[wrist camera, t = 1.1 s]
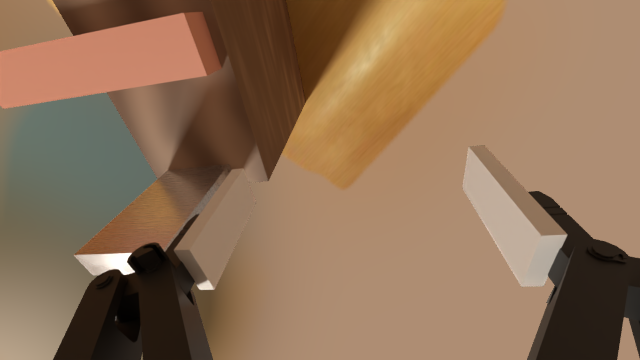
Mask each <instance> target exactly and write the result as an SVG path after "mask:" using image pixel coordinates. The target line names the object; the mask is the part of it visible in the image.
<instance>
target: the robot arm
mask: <svg viewBox="0 0 640 360" xmlns="http://www.w3.org/2000/svg"><path fill="white" fill-rule="evenodd" d="M463 190H464V191H465V193H466V195H467V196H468V198H469V200H470V201H471V203H472V205H473V206H474V208H475V210H476V211H477V213H478V215H479V216H480V218H481V220H482V221H483V223H484V225H485V227H486V228H487V230H488V232H489V233H490V235H491V237H492V238H493V240H494V242H495V243H496V245H497V247H498V248H499V250H500V252H501V253H502V255H503V256H504V258H505V260H506V261H507V263H508V265H509V267H510V268H511V270H512V272H513V273H514V275H515V277H516V278H517V280H518V282H519V283H520V285H521V286H544V284H545V282H546V280H547V278H548V276H549V278H550V279H551V280H552V282H553V283H554V285H555V286H554V288H553V290H552V292H551V294H550V296H549V298H548V300H547V303H548V304H547V307H546V309H545V312H544V315H543V318H542V320H541V323H540V326H539V329H538V331H537V334H536V337H535V339H534V342H533V345H532V347H531V351H530V353H529V356H528V358H527V360H617V357H618V350H619V343H620V337H621V331H622V324H623V318H624V317H626V318H629V321H630V325H631V328H632V332H633V336H634V339H635V343H636V346H637V350H638V353H639V357H640V258H634V257H630V256H628V255H627V254H626V253H625V252H624V251H623V250H621V249H619V248H618V247H617V246H615V245H612V244H610V243H607V242H605V241H600V240H596V239H593V238H592V237H591V236H590V235H589V234H588V233H587V232H586V231H585V230H584V229H583V228H582V227H581V226H579V224H578V223H576V221H575V220H573V218H572V217H570V216H569V215H567V213H566V212H565V211H564V210H563V209H562V208H560V206H559V205H558V204H557V203H556V202H555V201H554V200H553V199H552V198H550V197H549V196H547V195H545V194H543V193H541V192H539V191H534V192H527V191H526V190H525V188H524V187H523V186H522V185H521V184H520V183H519V182H518V181H517V180H516V179H515V178H514V177H513V176H512V174H511V173H510V172H509V171H508V170H507V169H506V168H505V167H504V166H503V165H502V164H501V163H500V162H499V161H498V160H497V158H496V157H495V156H494V155H493V154H492V153H491V152H490V151H489V150H488V149H487V148H486V147H485V145H481V146H470V147H469V148H468V155H467V162H466V168H465V174H464V181H463ZM255 204H256V201H255V198H254V195H253V193H252V190H251V187H250V185H249V182H248V179H247V177H246V174H245V171H244V169H243V168H241V169H232V170H231V172H230V173H229V174H228V176H227V177H226V179H225V180H224V181H223V183H222V184H221V185H220V187H219V188H218V190H217V191H216V192H215V194H214V195H213V197H212V198H211V199H210V201H209V202H208V203H207V205H206V206H205V208H204V209H203V210H202V212H201V213H200V214H196V215H195V216H194V217H192V218H191V219H190V220H189V221H188V222H187V223H186V224H185V226H184V227H183V230H181V231H180V232H179V234H178V235H177V236H176V238H175V239H174V240H173V242H172V243H171V244H170V246H169V247H168V248H167V250H166V251H165V252H164V250H163V249H162V247H161V246H160V245H159V243H156V242H153V243H148V244H145V245H143V246H141V247H139V248H138V249H136V250H135V251H134V252H133V253H132V254H131V255H130V256H129V257H128V260H127V263H128V264H129V265H130V267H131V268H132V269H133V270H134V271H135V272H134V273H130V274H127V275H123V273H122V272H121V271H120V270H119V269H112V270H108V271H106V272H104V273H102V274H100V275H99V276H97V277H96V278H95V279H94V280H93V281H92V282H91V283H90V284H89V286H88V287H87V289H86V291H85V293H84V295H83V298H82V300H81V302H80V304H79V306H78V308H77V310H76V312H75V314H74V317H73V319H72V321H71V323H70V325H69V327H68V329H67V331H66V333H65V336H64V338H63V340H62V342H61V344H60V346H59V348H58V350H57V353H56V355H55V357H54V359H53V360H141V356H142V352H143V360H213V358H212V354H211V352H210V348H209V344H208V341H207V338H206V334H205V330H204V327H203V324H202V320H201V317H200V314H199V310H198V307H197V303H196V300H195V296H194V294H193V292H192V290H191V288H192V286H193V284H194V282H195V283H196V285H197V286H198V288H199V289H200V290H213V289H215V287H216V285H217V283H218V281H219V279H220V277H221V275H222V273H223V271H224V269H225V266H226V264H227V262H228V260H229V258H230V256H231V254H232V252H233V250H234V248H235V245H236V244H237V242H238V240H239V237H240V235H241V233H242V231H243V229H244V227H245V225H246V223H247V221H248V219H249V217H250V215H251V212H252V210H253V208H254V206H255Z"/></svg>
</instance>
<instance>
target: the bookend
mask: <svg viewBox="0 0 640 360" xmlns="http://www.w3.org/2000/svg"><path fill="white" fill-rule="evenodd" d="M230 172H231V168H230V165H229V164H225V165H214V166H204V167H194V168H183V169H173V170H167V171H166V172H165V173H164V174H163V175H162V176H161V177H160V178H158V179H157V180H156V181H155V182H154V183H153V184H152V185H151V186H150V187H148V188H147V189H146V190H145V191H144V192H143V193H142V194H141V195H140V196H138V197H137V198H136V199H135V200H134V201H133V202H132V203H131V204H130V205H129V206H127V207H126V208H125V209H124V210H123V211H122V212H121V213H120V214H118V216H116V217H115V218H114V219H113V220H112V221H111V222H110V223H109V224H107V225H106V226H105V227H104V228H103V229H102V230H101V231H100V232H99V233H97V234H96V235H95V236H94V237H93V238H92V239H91V240H90V241H89V242H88V243H87V244H85V245H84V246H83V247H82V248H81V249H80V250H79V251H77V252H76V253H75V254H74V256H75V257H76V258H77V259H78V260H79V261H80V262H81V263H82V264H83V265H84V266H85V268H86V269H88V270H89V272H90V273H91V274H92V275H100V274H102V273H104V272H106V271H108V270H112V269H119V270H120V271H121V272H122V273H123V275H125V274H130V273H134V272H135V271H134V270H133V269H132V268H131V267H130V265H129V264H128V263H127V260H128V257H129V256H130V255H131V254H132V253H133V252H134V251H135V250H136V249H138V248H139V247H141V246H143V245H145V244H148V243H153V242H156V243H159V245H160V246H161V247H162V249H163V250H164V252H165V251H166V250H167V248H168V247H169V246H170V244H171V243H172V242H173V240H174V239H175V238H176V236H177V235H178V234H179V232H180V231H181V230H183V227H184V226H185V224H186V223H187V222H188V221H189V220H190V219H191V218H192V217H194V216H195V215H196V214H200V213H201V212H202V210H203V209H204V208H205V206H206V205H207V203H208V202H209V201H210V199H211V198H212V197H213V195H214V194H215V192H216V191H217V190H218V188H219V187H220V185H221V184H222V183H223V181H224V180H225V179H226V177H227V176H228V174H229V173H230Z"/></svg>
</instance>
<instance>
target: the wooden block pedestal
mask: <svg viewBox="0 0 640 360" xmlns="http://www.w3.org/2000/svg"><path fill="white" fill-rule="evenodd" d="M53 2H54V4H55V5H56V7H57V9H58V10H59V12H60V14H61V15H62V17H63V19H64V21H65V22H66V24H67V26H68V27H69V29H70V31H71V32H72V34H73V36H76V35H81V34H85V33H90V32H95V31H100V30H104V29H109V28H114V27H119V26H123V25H128V24H133V23H137V22H142V21H147V20H152V19H156V18H161V17H166V16H171V15H175V14H180V13H189V12H203V15H204V18H205V21H206V24H207V27H208V30H209V32H210V35H211V38H212V41H213V44H214V47H215V50H216V53H217V56H218V59H219V62H220V65H221V68H222V69H220V70H218V71H216V72H214V73H212V74H210V75H208V76H202V77H196V78H190V79H184V80H178V81H172V82H165V83H159V84H153V85H147V86H141V87H135V88H128V89H122V90H116V91H110V92H107V94H108V95H109V97H110V99H111V100H112V102H113V104H114V105H115V107H116V109H117V111H118V112H119V114H120V116H121V117H122V119H123V121H124V122H125V124H126V126H127V128H128V129H129V131H130V133H131V134H132V136H133V138H134V139H135V141H136V143H137V145H138V146H139V147H140V149H141V151H142V153H143V155H144V156H145V158H146V160H147V162H148V163H149V165H150V167H151V168H152V170H153V171H154V173H155V175H156V177H157V178H160V177H161V176H162V175H163V174H164V173H165V172H166V171H167V170H173V169H183V168H194V167H204V166H214V165H225V164H229V165H230V168H231V170H232V169H241V168H243V169H244V171H245V174H246V177H247V179H248V182H249V183H251V182H263V181H269V179H270V176H271V174H272V172H273V170H274V168H275V166H276V164H277V162H278V160H279V158H280V155H281V153H282V151H283V149H284V147H285V145H286V143H287V141H288V139H289V136H290V134H291V132H292V130H293V128H294V126H295V124H296V122H297V119H298V117H299V115H300V113H301V111H302V109H303V107H304V105H305V103H306V102H305V97H304V92H303V87H302V81H301V76H300V71H299V66H298V61H297V55H296V50H295V45H294V40H293V35H292V29H291V24H290V19H289V14H288V9H287V3H286V0H53Z"/></svg>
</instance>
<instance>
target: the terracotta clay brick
mask: <svg viewBox="0 0 640 360" xmlns="http://www.w3.org/2000/svg"><path fill="white" fill-rule="evenodd" d="M220 69H222V68H221V65H220V62H219V59H218V56H217V53H216V50H215V47H214V44H213V41H212V38H211V35H210V32H209V30H208V27H207V24H206V21H205V18H204V15H203V12H189V13H180V14H175V15H171V16H166V17H161V18H156V19H152V20H147V21H142V22H137V23H133V24H128V25H123V26H119V27H114V28H109V29H104V30H100V31H95V32H90V33H85V34H81V35H76V36H71V37H67V38H62V39H57V40H52V41H48V42H43V43H38V44H33V45H28V46H24V47H19V48H14V49H10V50H5V51H0V106H1V107H2V108H3V109H5V108H10V107H17V106H23V105H30V104H35V103H42V102H48V101H54V100H60V99H67V98H72V97H79V96H85V95H91V94H98V93H104V92H110V91H116V90H122V89H128V88H135V87H141V86H147V85H153V84H159V83H165V82H172V81H178V80H184V79H190V78H196V77H202V76H208V75H210V74H212V73H214V72H216V71H218V70H220Z"/></svg>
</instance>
